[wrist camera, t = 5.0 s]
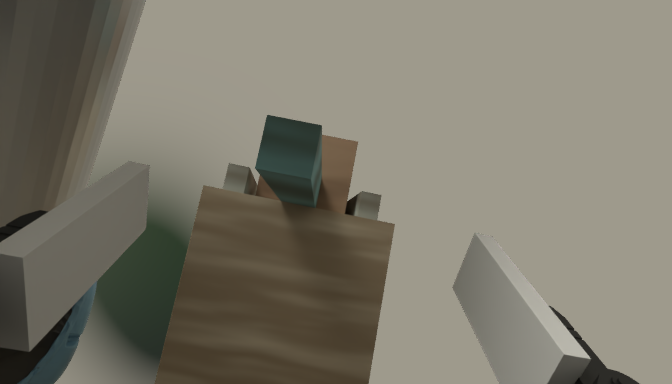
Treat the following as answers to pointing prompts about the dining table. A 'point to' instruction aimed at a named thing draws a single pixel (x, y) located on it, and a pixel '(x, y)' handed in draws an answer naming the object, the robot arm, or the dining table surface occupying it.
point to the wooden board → (277, 290)
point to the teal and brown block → (304, 165)
